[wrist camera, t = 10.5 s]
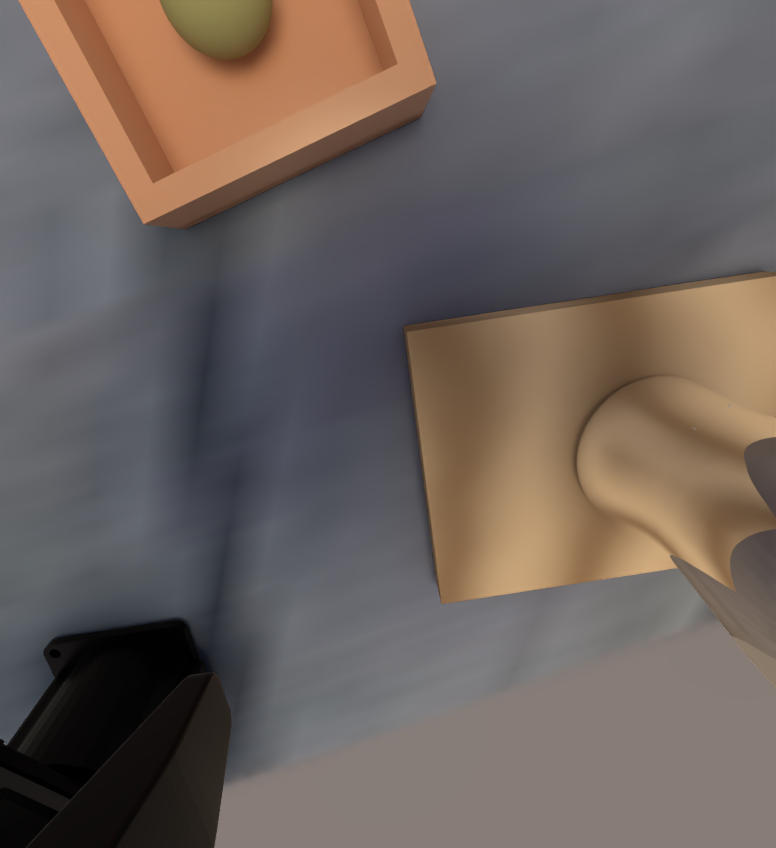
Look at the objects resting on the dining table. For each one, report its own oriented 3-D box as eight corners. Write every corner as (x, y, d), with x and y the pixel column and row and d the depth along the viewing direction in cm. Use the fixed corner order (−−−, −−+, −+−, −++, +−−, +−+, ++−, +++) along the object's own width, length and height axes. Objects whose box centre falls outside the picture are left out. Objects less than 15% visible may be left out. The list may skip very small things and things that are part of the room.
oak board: (436, 582, 23) (441, 603, 21) (403, 325, 19) (406, 331, 17) (731, 536, 23) (756, 555, 21) (762, 271, 19) (795, 273, 17)
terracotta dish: (185, 229, 17) (143, 223, 14) (22, -77, 14) (-80, -176, 11) (421, 116, 16) (436, 83, 13) (300, -231, 13) (281, -387, 10)
